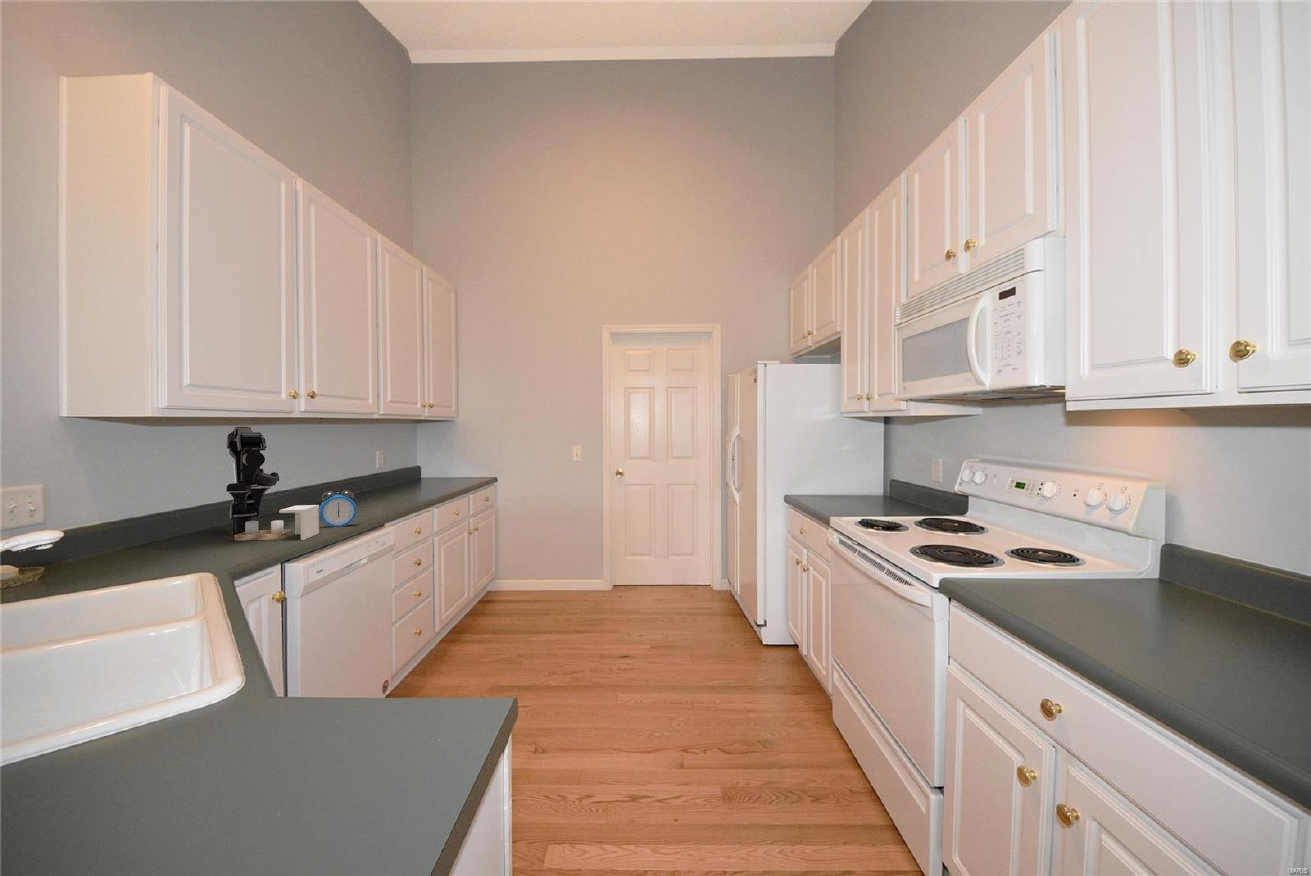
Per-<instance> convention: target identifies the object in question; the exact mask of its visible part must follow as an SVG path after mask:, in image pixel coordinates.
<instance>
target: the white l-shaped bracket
mask: <svg viewBox="0 0 1311 876" xmlns="http://www.w3.org/2000/svg"><path fill="white" fill-rule="evenodd" d="M319 509H320V505H319V504H309V505H308V504H303V505H302V504H301V505H292V506H290V507H286V508H282V509H279V514H287V513H288V514H289V513H290V514H295V515H294V525H295V526H294V533H295V534H294V535H300V541H302V540H303V541H304V540H306V539H309V538H312V537H314V536H316V535H319V534H320V514H319Z"/></svg>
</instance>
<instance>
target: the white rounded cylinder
mask: <svg viewBox="0 0 1311 876" xmlns="http://www.w3.org/2000/svg"><path fill="white" fill-rule="evenodd" d="M284 526H285V525H284V519H282V520H281V519H279V520H278V519H277V520H271V522H270V530H271V534H281V533H283V532H284V530H285V529H284Z"/></svg>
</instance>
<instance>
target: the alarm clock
mask: <svg viewBox="0 0 1311 876" xmlns="http://www.w3.org/2000/svg"><path fill="white" fill-rule="evenodd" d="M336 493H337V494H336ZM336 493H335V492H334V491H331V490H330V491H329V490H328V491H325V492H324V493H323V494H322V496H321V499H322V502H321V504H320V505H319V518H321V520H322V522H323V523H324V524H325V525H327V526H328V528H331V527H332V528H340V527H341V528H342V527H345V526H347V527H349V524H351V523H352V522H353V521H354V519H355V518H356V516H357V512H358V510H357V509H358V508H357V504H356V503H355V501H354V500H353V499H354V497H355V496H354V493H353V492H351V490H342V491H341V494H340V491H337V492H336Z"/></svg>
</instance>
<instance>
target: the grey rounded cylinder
mask: <svg viewBox="0 0 1311 876" xmlns="http://www.w3.org/2000/svg"><path fill="white" fill-rule="evenodd" d="M258 531H259V520H256V521H247V522H245V535H253V534H258Z"/></svg>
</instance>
